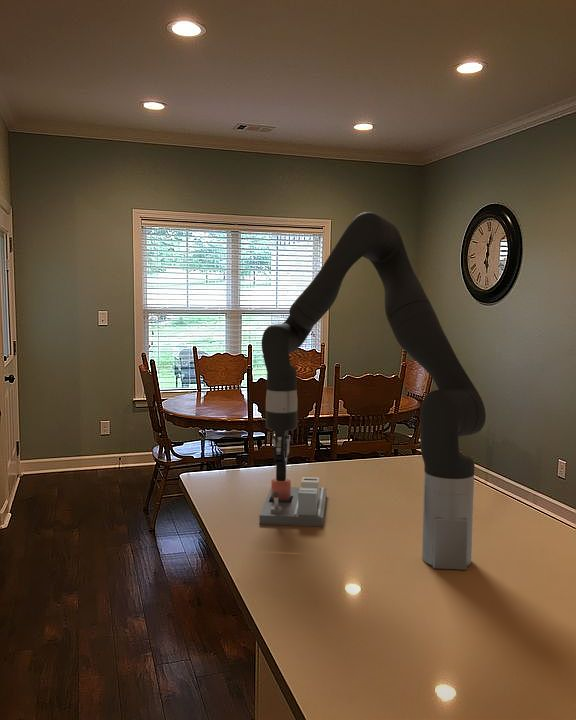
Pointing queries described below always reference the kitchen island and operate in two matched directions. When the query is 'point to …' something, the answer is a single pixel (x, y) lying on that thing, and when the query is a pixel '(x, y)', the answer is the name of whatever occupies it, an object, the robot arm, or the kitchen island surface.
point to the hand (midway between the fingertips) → (281, 480)
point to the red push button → (281, 489)
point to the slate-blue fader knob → (307, 501)
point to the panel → (291, 510)
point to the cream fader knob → (311, 484)
